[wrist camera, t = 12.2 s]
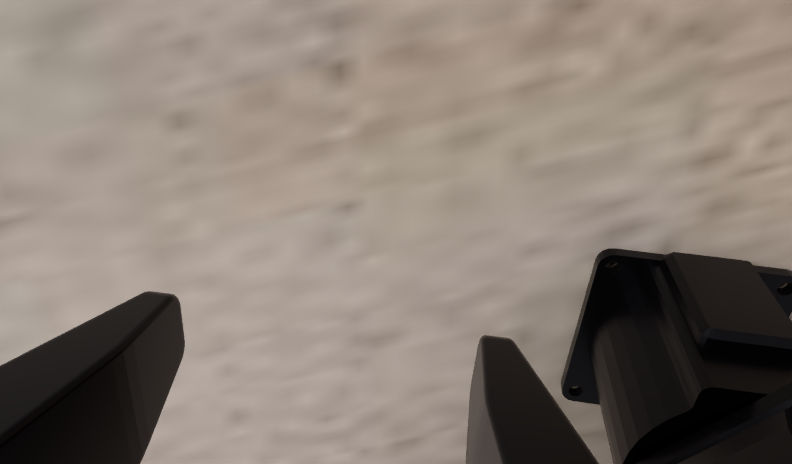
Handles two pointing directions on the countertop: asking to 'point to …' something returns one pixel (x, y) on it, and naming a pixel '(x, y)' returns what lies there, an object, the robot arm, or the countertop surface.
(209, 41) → the countertop surface
